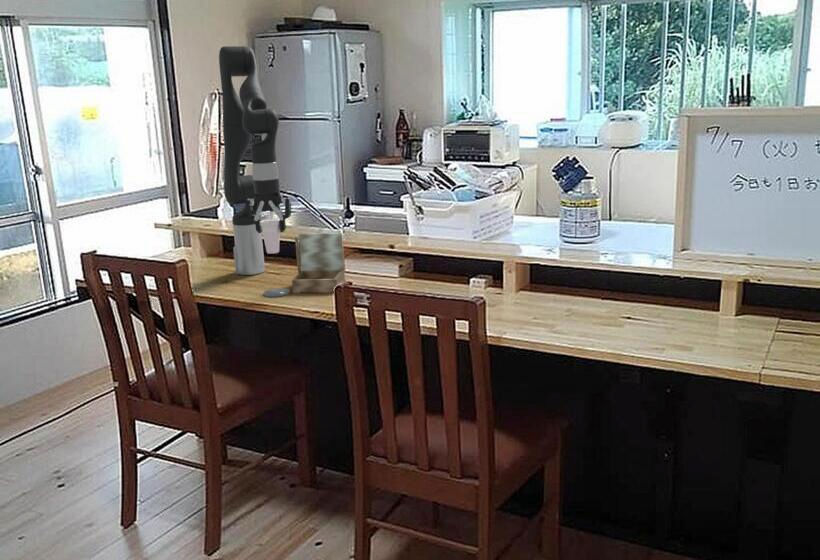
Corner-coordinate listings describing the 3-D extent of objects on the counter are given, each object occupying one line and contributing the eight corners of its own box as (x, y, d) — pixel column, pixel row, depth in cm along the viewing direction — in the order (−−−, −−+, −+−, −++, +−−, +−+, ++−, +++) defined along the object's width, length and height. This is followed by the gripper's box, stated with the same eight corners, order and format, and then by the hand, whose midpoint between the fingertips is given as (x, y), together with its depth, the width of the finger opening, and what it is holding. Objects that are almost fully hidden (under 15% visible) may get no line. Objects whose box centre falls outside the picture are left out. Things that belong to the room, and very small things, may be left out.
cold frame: (289, 292, 251) (284, 242, 247) (299, 282, 263) (295, 233, 259) (337, 292, 249) (333, 241, 245) (345, 281, 261) (341, 232, 257)
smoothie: (281, 254, 244) (277, 208, 241) (260, 254, 244) (256, 209, 241) (285, 249, 250) (281, 204, 247) (264, 250, 251) (260, 205, 247)
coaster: (260, 297, 247) (260, 295, 247) (268, 290, 255) (268, 288, 255) (286, 297, 246) (285, 295, 246) (292, 289, 254) (292, 288, 254)
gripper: (292, 174, 244) (297, 229, 249) (246, 176, 246) (252, 230, 250) (285, 178, 237) (291, 234, 241) (238, 180, 239) (244, 235, 243)
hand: (271, 232), depth 246 cm, fingers closed on smoothie, 6 cm apart
